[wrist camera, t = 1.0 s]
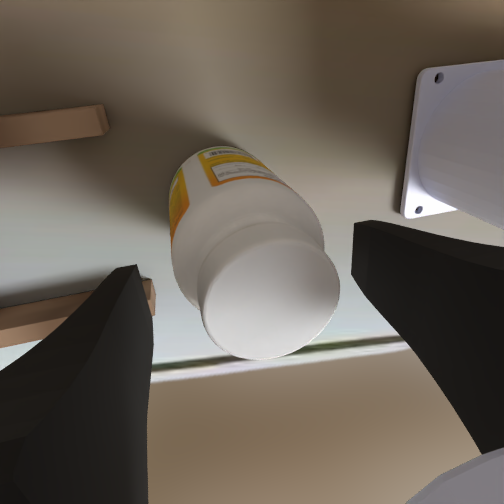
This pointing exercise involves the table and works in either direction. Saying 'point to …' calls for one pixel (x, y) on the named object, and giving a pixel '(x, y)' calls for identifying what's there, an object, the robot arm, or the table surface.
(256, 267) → the supplement bottle
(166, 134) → the table surface
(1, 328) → the bay
